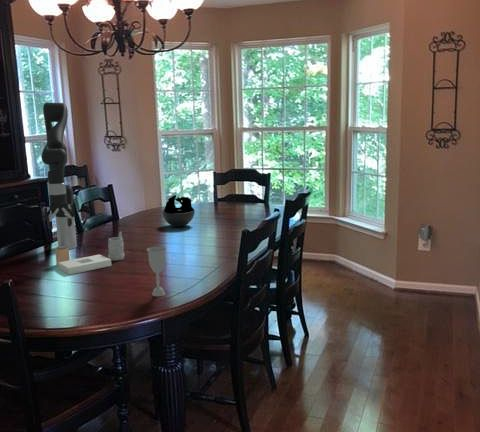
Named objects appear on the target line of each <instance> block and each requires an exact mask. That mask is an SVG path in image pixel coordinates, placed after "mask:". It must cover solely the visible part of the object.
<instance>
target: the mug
mask: <svg viewBox="0 0 480 432" xmlns="http://www.w3.org/2000/svg"><path fill="white" fill-rule="evenodd" d="M122 235H123V234H122V231H118V237H117V236H116V237H115V236H113V237H111V238H108V245H107V248H108V254H107V258H109V259H111V261H113V262H114V261H116V262H117V261H121V260H124V258H125V256H126V255H125V252H124V250H125V249H124V247H125V244H124V238H123V236H122Z"/></svg>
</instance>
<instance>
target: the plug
mask: <svg viewBox="0 0 480 432" xmlns="http://www.w3.org/2000/svg"><path fill="white" fill-rule="evenodd" d="M54 249H55V252H54V253H55V261H56V266H58V267H59V264H58V262H63V261H68V260H71V259H70V249H69V248H67V247H66V246H59V247H58V246H56V247H55V248H54Z"/></svg>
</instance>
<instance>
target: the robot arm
mask: <svg viewBox="0 0 480 432" xmlns="http://www.w3.org/2000/svg"><path fill="white" fill-rule="evenodd" d="M42 109H43V110H42V113H43V114H42V115H43V121H44V127H45V133H46V145H45V146H44V148H43V150H42V152H41V156H40V157H41V161H42V162H43V163H44V164H45V165H48V167H49V168H48V169H49V170H48V171H47V183H48V184H47V185H48V186H47V188H48V189H47V190H48V200H49V206H43V207H42V220H44V221H45V222H47V228H48V229H49V230H53V226H54V225H53V219H54V218H55V223H56V225H55V227H56V236H57V247H59V246H66V247H67V248H69V250H72V249H76V248H77V234H76V223H75V222H76V221H75V217H76V208H75V204H74V191H73V187H72V184H66V182H65V167H66V165H67V163H68V149H67V146H66V144H65V142H64V134H65V130H66V127H67V124H68V123H67V122H68V117H69V113H68V112H69V110H68V107H67V105H66V103H64V102H44V104H43V107H42ZM53 123H56V124H55V125H53ZM49 211H50V213H49V214H48V212H49Z"/></svg>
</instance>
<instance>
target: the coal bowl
mask: <svg viewBox="0 0 480 432" xmlns="http://www.w3.org/2000/svg"><path fill="white" fill-rule="evenodd" d="M176 201H177V202H179V204H180V205H181V206H179V207H177V206H176V204H175V203H176ZM195 212H196V211H195V208H193V205H192V199H191V198H189V197H187V196H180V197H177V194H174V195H172V196H171V197H169V198H168V199H167V202H166V203H165V206H164V209H163V210H162V211H161V214H162V217H163V219H164V221H165V222H166V223H167V224H168V225H170V226H172V227H175V228H176V227H177V228H180V227H185V226H187V225H188V224H190V223H191V222H192V220H193V219H194V216H195V214H196V213H195Z"/></svg>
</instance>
